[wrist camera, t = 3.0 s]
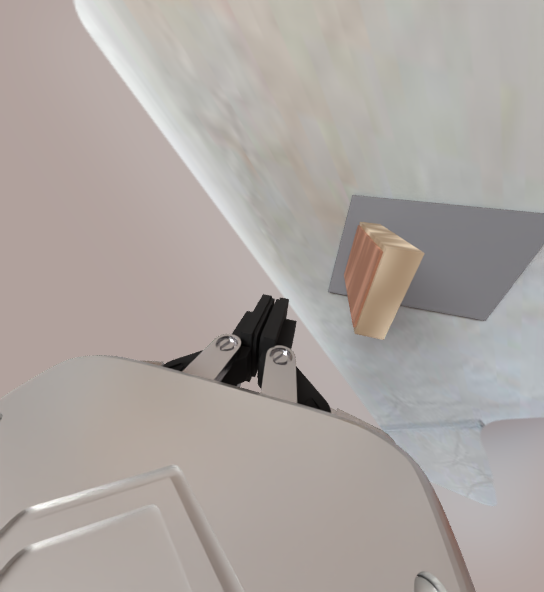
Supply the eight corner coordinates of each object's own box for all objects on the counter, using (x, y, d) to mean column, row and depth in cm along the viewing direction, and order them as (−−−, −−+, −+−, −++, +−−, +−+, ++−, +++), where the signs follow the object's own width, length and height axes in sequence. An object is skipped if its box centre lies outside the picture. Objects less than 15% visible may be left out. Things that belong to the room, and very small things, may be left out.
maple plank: (380, 224, 26) (424, 253, 14) (361, 279, 30) (383, 339, 18) (358, 221, 26) (383, 247, 14) (342, 276, 30) (352, 333, 18)
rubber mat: (560, 215, 22) (565, 215, 21) (482, 318, 28) (485, 320, 28) (352, 195, 25) (352, 195, 25) (328, 290, 32) (328, 291, 32)
